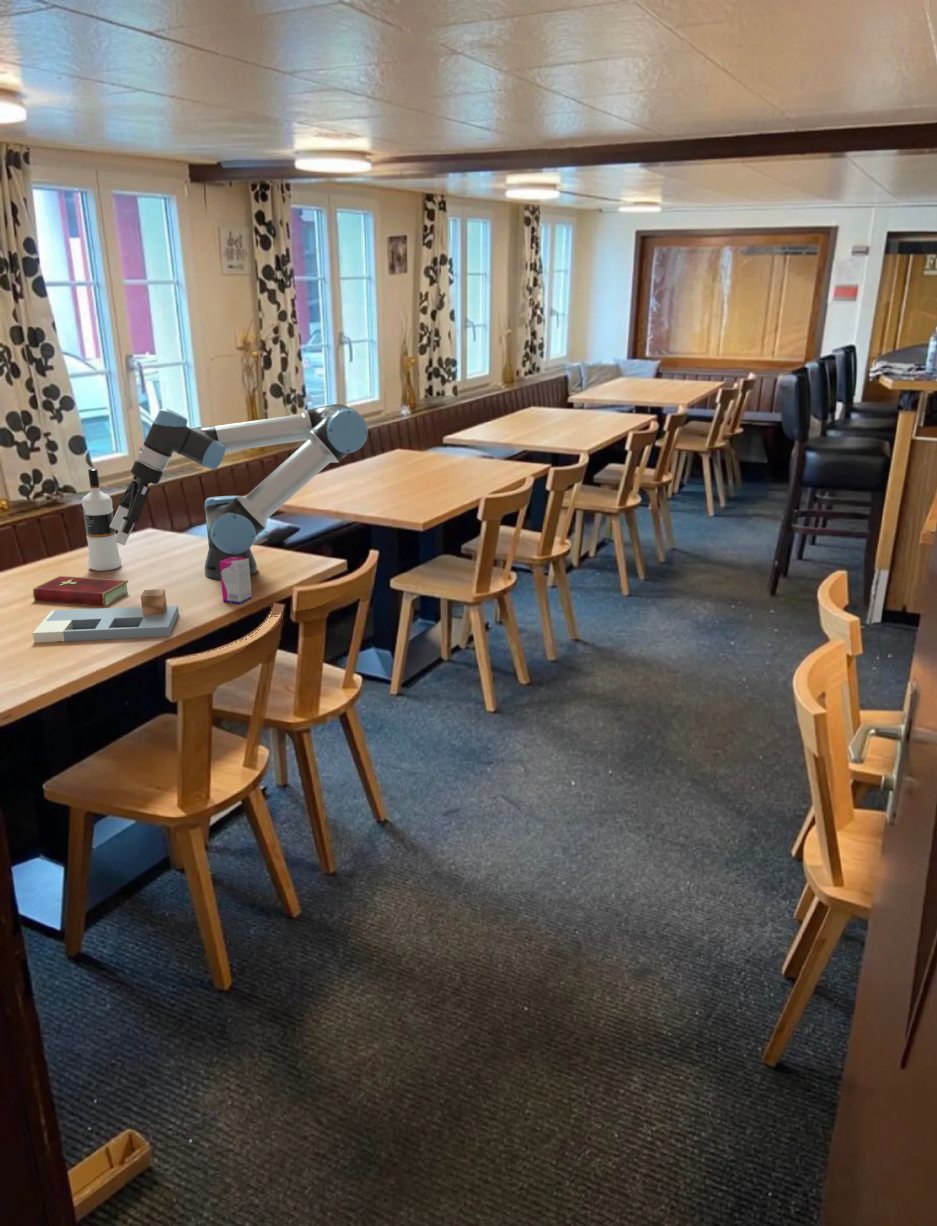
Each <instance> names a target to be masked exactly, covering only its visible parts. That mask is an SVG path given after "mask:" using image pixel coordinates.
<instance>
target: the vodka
mask: <svg viewBox="0 0 937 1226" xmlns="http://www.w3.org/2000/svg"><path fill="white" fill-rule="evenodd" d="M87 471H88V478H89V486H90V487H89V488H90V489H89V490H90V492H88V493H87V494H86V495H85V496H83V498H82V499H81V505H82V509H83V510H82V511H83V518H84V525H85V532H86V537H85V538H86V540H87V546H88V547H87V549H88V563H87V564H88V567H89V569H90V570H93V571H95V572H107V571H114V570H116V569H119V568H120V567H121V566H122V563H123V562H122V557H121V556H120V552H119V547H118V543H117V542H114V540H115V538H116V536H117V534H116V529H113V528H111V527H110V525H111V522H112V520H113V518H114V513H113V511H114V508H113V499H112V497H111V496H110V495H109V494H106V493H105V492H103V491H102V490H101V486H100V480H99V473H98V469H96V468H89V469H88V470H87Z"/></svg>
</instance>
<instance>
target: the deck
mask: <svg viewBox="0 0 937 1226" xmlns="http://www.w3.org/2000/svg"><path fill="white" fill-rule="evenodd" d="M179 615H180V613H179V605H178V604H177V605H167V608H166V611H165V613H164V614H156V615H143V611H142V606H128V607H106V608H105V607H104V608H103V607H102V608H79V609H77V608H76V609H54V610H53V609H52V610H51V611H50V612H49V613H48V614H47V616H46V617H44V619H43V620H42V621H41V623H39V624H38V626H37V627H36V629H34V631H33V632H32V637H33V642H34V643H35V644H37V643H39V644H40V643H58V642H57V641H62V642H79V641H84V642H85V641H101V640H125V639H144V638H165V637H166V638H167V637H168V638H169V637H170V636H171V633H172V631H173V629H174V627H175V624H176V623H177V622H176V621H177V620H176V619H178V617H179Z"/></svg>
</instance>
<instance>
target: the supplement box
mask: <svg viewBox="0 0 937 1226" xmlns="http://www.w3.org/2000/svg"><path fill="white" fill-rule="evenodd" d="M220 571H221V579H220V582H221V592H222V594H221V595H222V602H223V601H224V602H223V603H229V602H232V603H231V604H238V605H241V604H244V603H245V602H247V601H250V600H251V599H253V598H252V597H253V596H252V584H251V582H252V581H251V576H250V569H249V558H240V557H229V558H227V559H225V560H222V561H220ZM243 602H244V603H243Z"/></svg>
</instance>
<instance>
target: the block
mask: <svg viewBox="0 0 937 1226" xmlns="http://www.w3.org/2000/svg"><path fill="white" fill-rule="evenodd" d="M140 601H141V607H142V611H143V615H156V614H164V613H165V611H166V608H167V606H168V605H167V596H166V589H165V588H163V589H162V588H161V589H160V588H158V589H144V590H143V591H142V593H141V595H140Z"/></svg>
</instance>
